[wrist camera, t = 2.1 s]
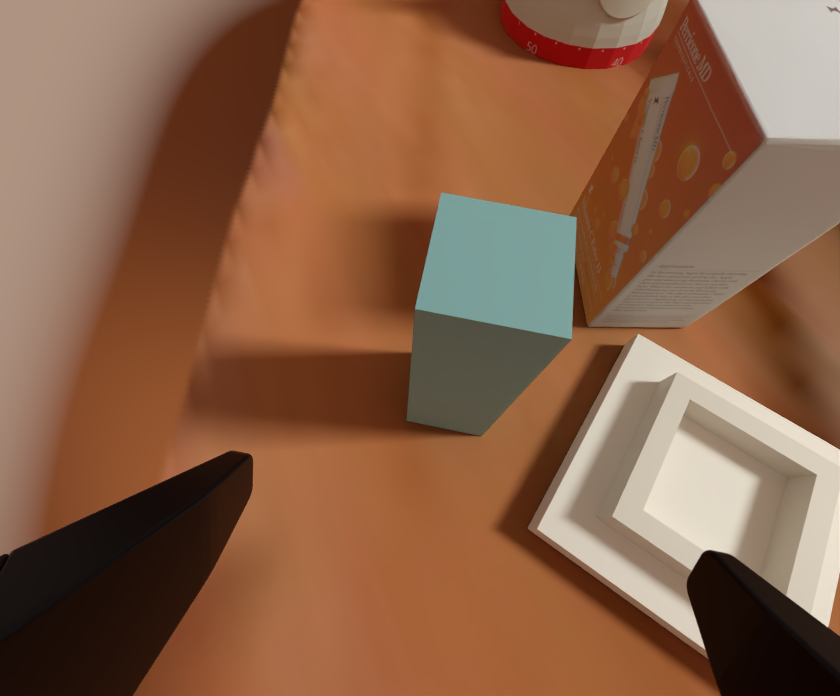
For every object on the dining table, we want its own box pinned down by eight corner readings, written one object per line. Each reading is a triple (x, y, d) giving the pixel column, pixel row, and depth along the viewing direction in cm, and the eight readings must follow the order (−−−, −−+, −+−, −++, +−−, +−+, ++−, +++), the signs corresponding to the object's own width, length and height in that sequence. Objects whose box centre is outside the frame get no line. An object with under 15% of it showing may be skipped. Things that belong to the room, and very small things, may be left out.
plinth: (774, 707, 17) (847, 742, 14) (527, 528, 19) (548, 529, 16) (832, 467, 21) (897, 458, 18) (624, 345, 24) (654, 321, 21)
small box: (562, 223, 27) (691, -14, 15) (653, 225, 27) (849, -5, 16) (584, 330, 24) (769, 136, 12) (686, 331, 24) (966, 143, 12)
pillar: (481, 436, 21) (571, 339, 10) (406, 421, 21) (414, 308, 10) (490, 366, 23) (576, 217, 12) (421, 352, 23) (441, 192, 12)
